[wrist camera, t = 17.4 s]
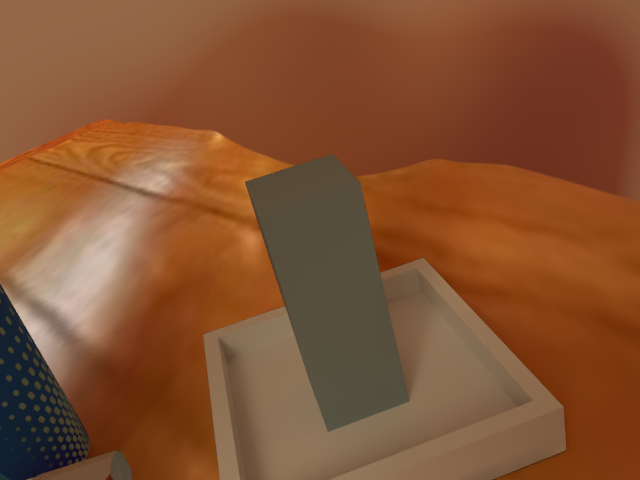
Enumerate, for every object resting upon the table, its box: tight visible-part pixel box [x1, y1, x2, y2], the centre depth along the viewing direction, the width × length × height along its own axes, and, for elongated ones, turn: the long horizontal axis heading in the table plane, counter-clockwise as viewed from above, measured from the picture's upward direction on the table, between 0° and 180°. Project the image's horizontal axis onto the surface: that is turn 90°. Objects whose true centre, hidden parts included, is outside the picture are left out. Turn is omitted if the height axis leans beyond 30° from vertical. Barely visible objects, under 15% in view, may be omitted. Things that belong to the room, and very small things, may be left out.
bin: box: [203, 258, 566, 480], centre depth 35 cm, size 17×17×3 cm
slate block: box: [245, 154, 409, 432], centre depth 32 cm, size 5×5×14 cm
